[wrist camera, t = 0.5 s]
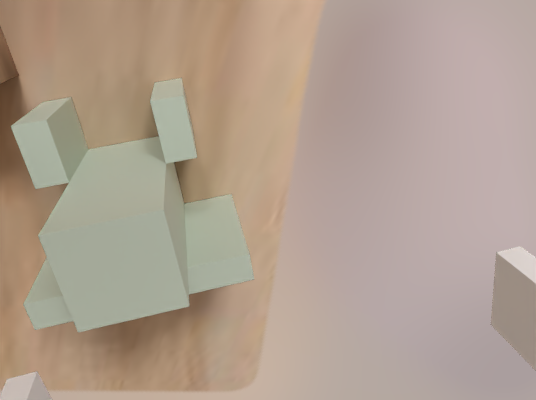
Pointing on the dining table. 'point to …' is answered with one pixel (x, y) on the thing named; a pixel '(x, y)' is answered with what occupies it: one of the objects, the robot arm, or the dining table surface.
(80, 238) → the pale green block
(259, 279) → the dining table surface
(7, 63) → the brown boxy piece
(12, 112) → the dining table surface
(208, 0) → the dining table surface
